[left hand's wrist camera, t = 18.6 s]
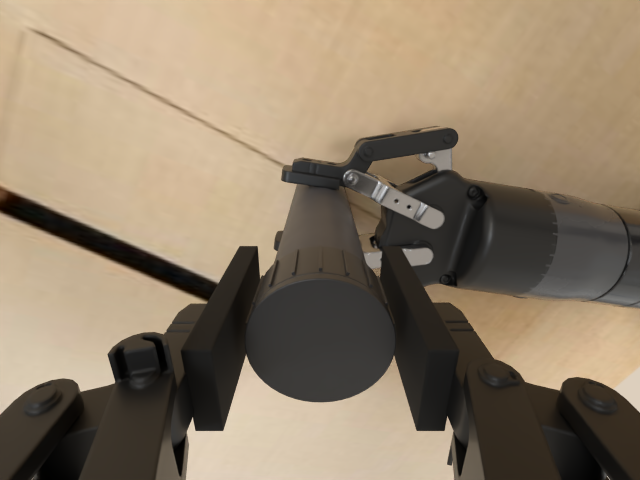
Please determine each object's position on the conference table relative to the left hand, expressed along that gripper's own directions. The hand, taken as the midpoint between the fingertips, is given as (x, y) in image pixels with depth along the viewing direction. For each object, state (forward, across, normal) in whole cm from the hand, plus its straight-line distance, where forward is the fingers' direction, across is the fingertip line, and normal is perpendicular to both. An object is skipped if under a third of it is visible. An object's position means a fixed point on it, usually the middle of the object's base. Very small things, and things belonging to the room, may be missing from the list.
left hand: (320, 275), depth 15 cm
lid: (-4, 0, 0) cm, 4 cm away
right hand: (+9, -3, 0) cm, 9 cm away
